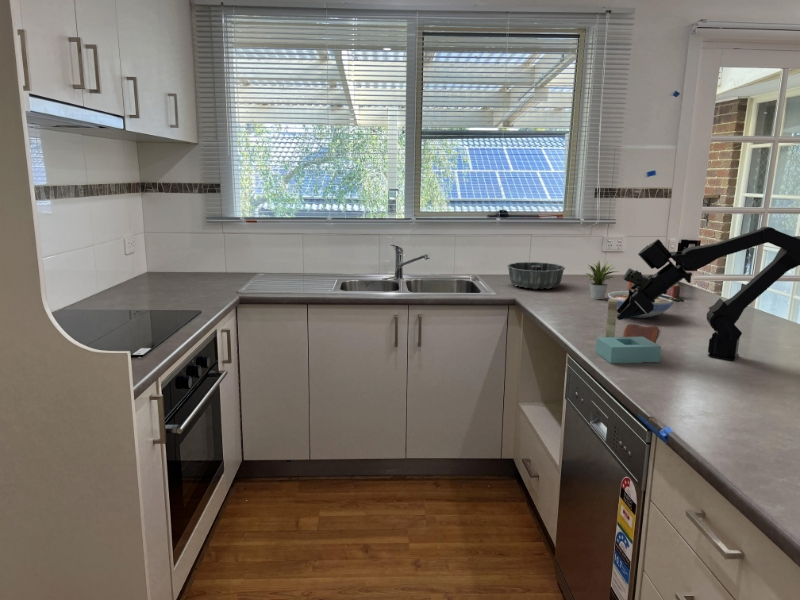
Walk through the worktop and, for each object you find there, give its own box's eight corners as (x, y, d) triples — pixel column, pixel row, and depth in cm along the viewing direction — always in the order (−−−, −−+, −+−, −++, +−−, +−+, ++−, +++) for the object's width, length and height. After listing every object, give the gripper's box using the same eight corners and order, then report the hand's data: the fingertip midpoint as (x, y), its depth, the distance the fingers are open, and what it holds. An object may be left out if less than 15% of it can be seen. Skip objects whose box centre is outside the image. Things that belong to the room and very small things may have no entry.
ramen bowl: (592, 310, 215) (594, 289, 214) (645, 307, 220) (647, 287, 218) (631, 325, 191) (633, 302, 190) (690, 322, 196) (692, 299, 194)
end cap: (595, 352, 161) (596, 337, 160) (641, 351, 162) (642, 336, 161) (610, 363, 151) (611, 347, 150) (659, 362, 152) (660, 346, 151)
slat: (605, 343, 170) (608, 298, 167) (613, 344, 169) (617, 299, 166) (604, 347, 166) (608, 301, 163) (613, 348, 165) (617, 301, 162)
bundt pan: (563, 293, 249) (565, 271, 247) (503, 290, 256) (504, 268, 254) (563, 283, 274) (565, 263, 271) (509, 280, 281) (510, 261, 279)
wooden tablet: (626, 326, 193) (626, 322, 193) (658, 330, 189) (658, 325, 188) (618, 346, 170) (618, 340, 169) (654, 350, 165) (654, 344, 165)
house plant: (603, 304, 226) (607, 263, 223) (573, 298, 236) (576, 260, 233) (621, 299, 236) (624, 260, 232) (591, 294, 246) (594, 257, 242)
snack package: (680, 298, 240) (682, 282, 238) (672, 300, 236) (674, 284, 234) (633, 290, 256) (634, 276, 255) (625, 292, 252) (627, 277, 251)
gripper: (641, 256, 168) (599, 289, 174) (644, 264, 151) (598, 300, 157) (667, 283, 167) (624, 316, 173) (673, 295, 150) (625, 330, 156)
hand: (617, 315), depth 165 cm, fingers open, 9 cm apart
